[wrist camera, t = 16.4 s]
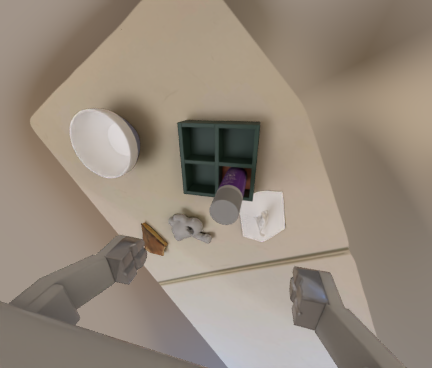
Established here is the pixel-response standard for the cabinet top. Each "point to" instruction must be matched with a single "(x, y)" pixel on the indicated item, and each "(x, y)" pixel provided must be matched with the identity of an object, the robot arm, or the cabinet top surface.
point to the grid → (217, 154)
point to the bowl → (104, 142)
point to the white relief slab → (263, 215)
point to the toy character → (188, 228)
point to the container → (229, 196)
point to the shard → (153, 240)
